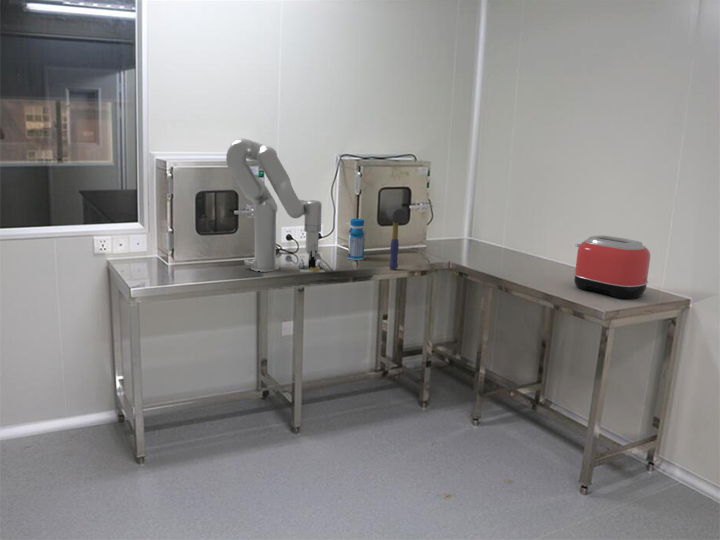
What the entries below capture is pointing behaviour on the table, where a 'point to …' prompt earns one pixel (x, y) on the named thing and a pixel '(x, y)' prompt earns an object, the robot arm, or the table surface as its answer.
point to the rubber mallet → (395, 232)
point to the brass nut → (314, 269)
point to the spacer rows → (319, 263)
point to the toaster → (612, 266)
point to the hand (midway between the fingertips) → (311, 267)
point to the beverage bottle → (356, 240)
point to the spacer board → (308, 269)
